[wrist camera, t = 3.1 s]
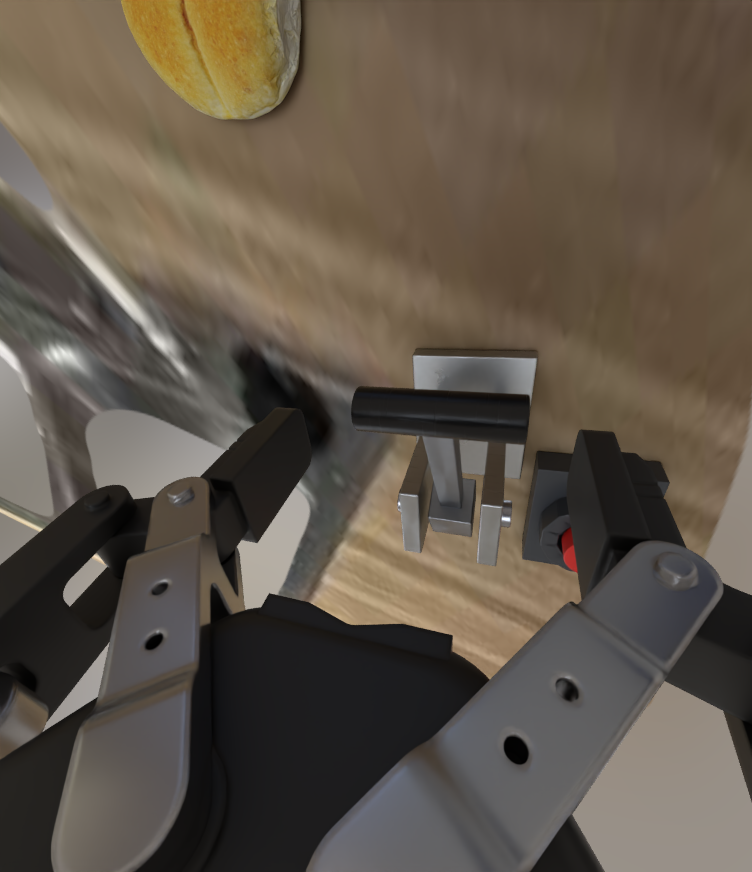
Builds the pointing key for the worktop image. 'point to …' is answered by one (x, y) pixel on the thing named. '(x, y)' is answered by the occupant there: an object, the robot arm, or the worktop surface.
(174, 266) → the worktop surface
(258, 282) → the worktop surface
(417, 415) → the press lever
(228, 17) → the bread roll
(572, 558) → the button
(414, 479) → the lever bracket
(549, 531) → the button block
